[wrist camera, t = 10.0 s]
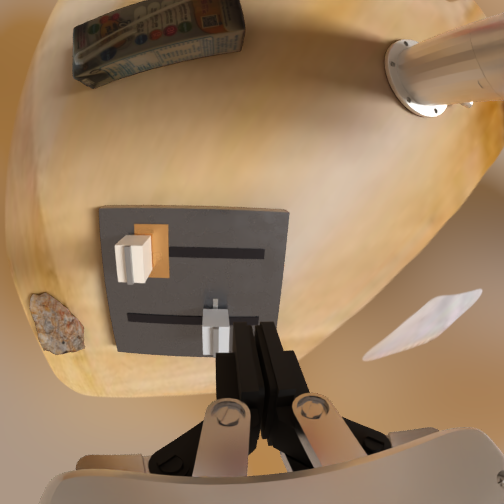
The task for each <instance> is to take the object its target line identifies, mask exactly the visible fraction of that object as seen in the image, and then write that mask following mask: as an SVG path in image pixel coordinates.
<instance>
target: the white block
mask: <svg viewBox="0 0 504 504" xmlns="http://www.w3.org/2000/svg"><path fill="white" fill-rule="evenodd" d="M229 332H230V325H229V316H228V309H203V321H202V337H203V355H213V358H216V353H229Z"/></svg>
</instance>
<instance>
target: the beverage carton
mask: <svg viewBox="0 0 504 504" xmlns="http://www.w3.org/2000/svg"><path fill="white" fill-rule="evenodd" d="M244 36H245V23H244V17H243V12H242V8H241V4H240V1H239V0H146V1H142V2H139V3H136V4H133V5H130V6H127V7H124V8H121V9H118V10H115V11H113V12H110V13H107V14H105V15H102V16H100V17H98V18H96V19H94V20H90V21H88V22H85V23H84V24H81V25H78V26H76V27H75V28H74V31H73V78H74V79H76V80H78V81H80V82H82V83H83V84H85V85H86V86H89V87H90V88H92V89H94V88H97V87H99V86H102V85H105V84H107V83H110V82H112V81H115V80H118V79H121V78H124V77H127V76H130V75H133V74H136V73H139V72H143V71H146V70H150V69H153V68H157V67H161V66H165V65H169V64H173V63H177V62H181V61H186V60H191V59H196V58H201V57H206V56H211V55H217V54H223V53H230V52H235V51H241V48H242V44H243V40H244Z"/></svg>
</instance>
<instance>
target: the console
mask: <svg viewBox="0 0 504 504" xmlns="http://www.w3.org/2000/svg"><path fill="white" fill-rule="evenodd" d="M288 222H289V212H288V211H287V210H284V209H266V208H245V207H218V206H176V205H109V206H103V207H101V208H99V223H100V238H101V250H102V260H103V269H104V277H105V285H106V292H107V298H108V304H109V310H110V316H111V321H112V326H113V331H114V336H115V341H116V345H117V350H118V352H127V353H138V354H151V355H167V356H190V357H213V355H203V337H202V321H203V309H228V316H229V325H230V332H229V353H232V344H233V322H247V325H252V329H253V334H254V332H255V325H260V322H271V321H273V322H274V324H275V327H276V328H277V320H278V312H279V304H280V296H281V287H282V279H283V270H284V261H285V252H286V242H287V232H288ZM125 235H151V252H152V271H151V273H150V274H149V276H148V278H147V280H146V282H145V283H134V284H133V285H127V282H118V276H117V266H116V256H115V244H117V243H118V242H119V241H120V240H121V239H122V238H123V237H124V236H125Z"/></svg>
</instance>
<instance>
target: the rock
mask: <svg viewBox="0 0 504 504" xmlns="http://www.w3.org/2000/svg"><path fill="white" fill-rule="evenodd" d="M30 311H31V314H32V316H33V319H34V321H35V324H36V329H37V332H38V339H39V342H40V343H41V346H42V348H43V350H44V351H45V350H46V351H50V352H51V353H53V354H55V355H59V354H64V353H68V352H76V351H79V350H81V349H84V348H85V345H84V327H83V326H82V324H81V323H80V322H79V320H78V319H77V318H76V317H74V316H73V315H71V313H70V311H69V309H68V308H66V307H64V306H63V305H62V304H61V303H60V302H59V301H57V300H56V299H54V298H53V297H52V296H50V295H49V294H47V293H43V294H41V295H35V294H33V295H32V296H31V299H30Z"/></svg>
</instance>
